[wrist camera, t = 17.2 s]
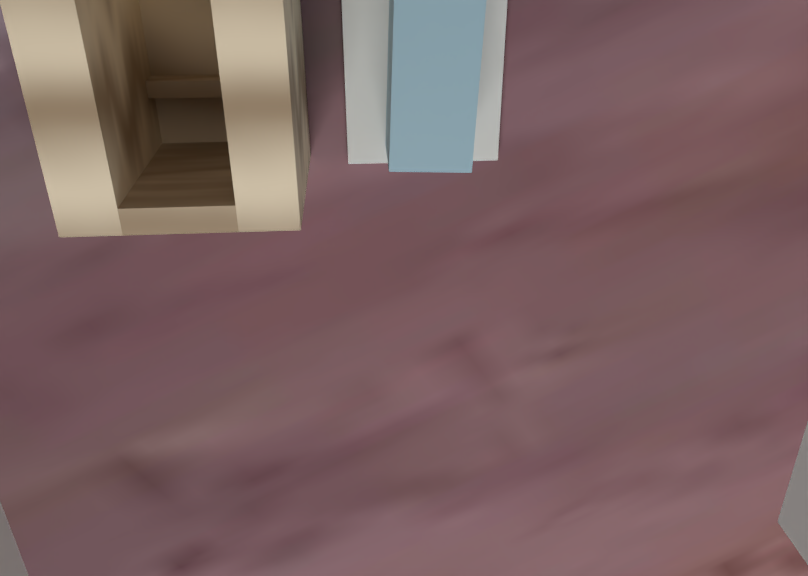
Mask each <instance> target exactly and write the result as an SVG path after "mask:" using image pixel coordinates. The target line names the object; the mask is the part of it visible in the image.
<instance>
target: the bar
mask: <svg viewBox="0 0 808 576" xmlns="http://www.w3.org/2000/svg"><path fill="white" fill-rule="evenodd" d="M485 11H486V0H389V27H388V65H387V103H386V142H385V146H386V153H387V160H388V168H389V172H459V173H472V163H473V152H474V140H475V128H476V116H477V105H478V93H479V81H480V70H481V58H482V46H483V35H484V23H485Z"/></svg>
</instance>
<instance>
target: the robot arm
mask: <svg viewBox="0 0 808 576" xmlns="http://www.w3.org/2000/svg"><path fill="white" fill-rule="evenodd" d="M778 523H779V524H780V526H781V527H782V529H783V530H784V532H785V533H786V534H787V536H788V537H789V539H790V540H791V542H792V543H793V545H794V546H795V547H796V549H797V550H798V552H799V553H800V555H801V556H802V557H803V559H804V560H805V562H806V563H807V565H808V422H807V426H806V429H805V432H804V436H803V439H802V442H801V446H800V449H799V452H798V456H797V459H796V462H795V466H794V469H793V472H792V475H791V479H790V482H789V485H788V489H787V492H786V495H785V499H784V502H783V505H782V509H781V512H780V515H779V519H778ZM0 576H28V573H27V570H26V568H25V565H24V562H23V560H22V557H21V555H20V552H19V549H18V547H17V544H16V542H15V539H14V536H13V534H12V531H11V528H10V526H9V523H8V521H7V518H6V515H5V513H4V510H3V508H2V505H1V502H0Z"/></svg>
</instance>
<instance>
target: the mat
mask: <svg viewBox="0 0 808 576" xmlns="http://www.w3.org/2000/svg"><path fill="white" fill-rule="evenodd" d="M506 15H507V0H486V11H485V23H484V35H483V46H482V58H481V70H480V81H479V93H478V105H477V116H476V128H475V140H474V152H473V161H485V160H498V147H499V130H500V114H501V97H502V81H503V64H504V48H505V32H506ZM342 23H343V47H344V71H345V95H346V119H347V143H348V164H366V163H388V160H387V153H386V146H385V142H386V103H387V65H388V27H389V0H342Z"/></svg>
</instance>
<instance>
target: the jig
mask: <svg viewBox="0 0 808 576" xmlns="http://www.w3.org/2000/svg"><path fill="white" fill-rule="evenodd" d="M0 5H1V9H2V13H3V17H4V21H5V24H6V28H7V32H8V36H9V40H10V44H11V48H12V52H13V56H14V60H15V64H16V68H17V72H18V76H19V80H20V84H21V88H22V92H23V96H24V100H25V104H26V108H27V112H28V116H29V120H30V124H31V128H32V132H33V136H34V140H35V144H36V148H37V152H38V155H39V159H40V163H41V167H42V171H43V175H44V179H45V183H46V187H47V191H48V195H49V199H50V203H51V207H52V211H53V215H54V219H55V223H56V227H57V231H58V235H59V237H88V236H121V235H155V234H188V233H222V232H255V231H289V230H301V224H302V217H303V209H304V202H305V194H306V187H307V179H308V172H309V164H310V157H311V154H310V139H309V124H308V109H307V94H306V79H305V64H304V49H303V34H302V19H301V4H300V0H0Z"/></svg>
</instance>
